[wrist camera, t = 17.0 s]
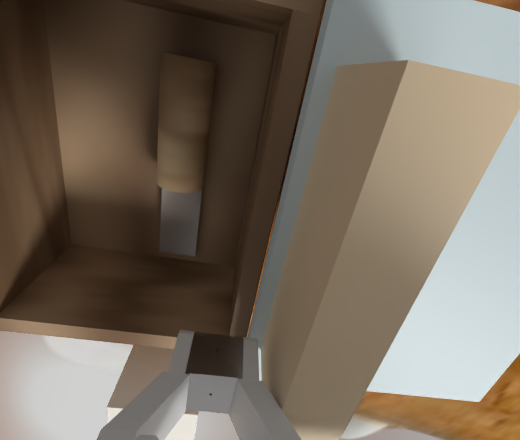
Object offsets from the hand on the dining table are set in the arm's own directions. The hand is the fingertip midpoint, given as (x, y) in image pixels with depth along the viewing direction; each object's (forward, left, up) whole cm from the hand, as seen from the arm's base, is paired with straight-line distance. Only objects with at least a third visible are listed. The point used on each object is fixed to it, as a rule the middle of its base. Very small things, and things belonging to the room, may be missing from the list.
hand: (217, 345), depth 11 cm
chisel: (+3, -3, -9) cm, 10 cm away
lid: (-7, -4, -2) cm, 9 cm away
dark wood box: (+5, -4, -10) cm, 11 cm away
